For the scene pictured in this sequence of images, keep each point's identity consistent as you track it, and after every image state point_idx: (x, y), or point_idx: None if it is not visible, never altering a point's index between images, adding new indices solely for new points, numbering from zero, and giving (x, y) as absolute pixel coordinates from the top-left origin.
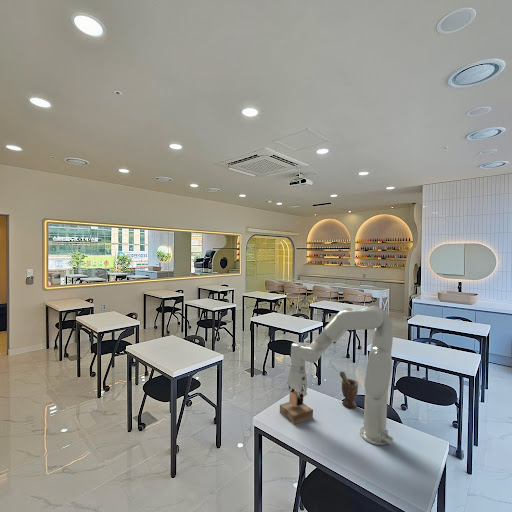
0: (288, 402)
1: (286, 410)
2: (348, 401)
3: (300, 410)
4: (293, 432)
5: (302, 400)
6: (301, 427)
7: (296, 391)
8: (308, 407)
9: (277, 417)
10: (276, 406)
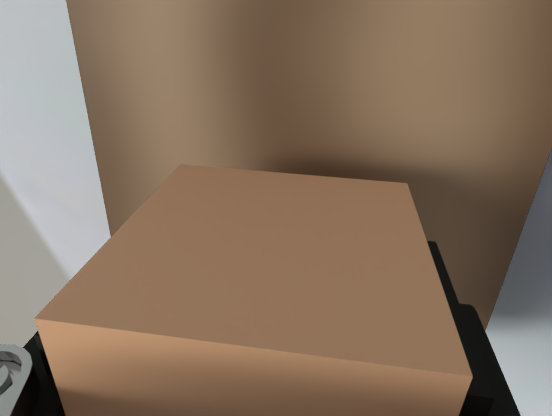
0: (117, 222)
1: None
2: None
3: None
4: (523, 393)
5: (456, 309)
6: (538, 291)
7: (104, 388)
8: (455, 18)
9: None
10: (51, 231)
